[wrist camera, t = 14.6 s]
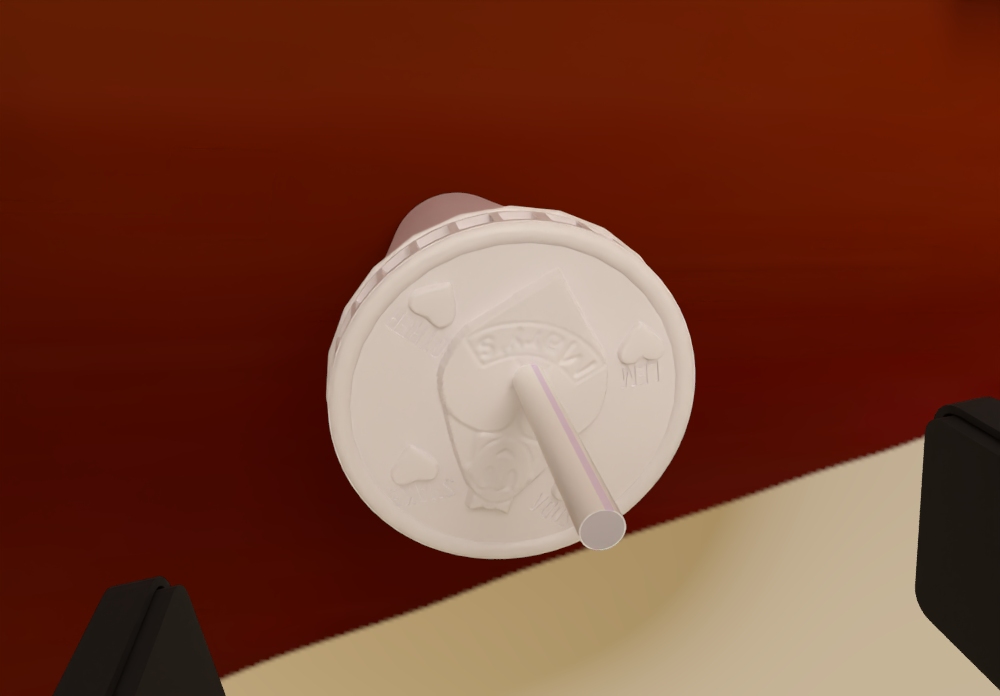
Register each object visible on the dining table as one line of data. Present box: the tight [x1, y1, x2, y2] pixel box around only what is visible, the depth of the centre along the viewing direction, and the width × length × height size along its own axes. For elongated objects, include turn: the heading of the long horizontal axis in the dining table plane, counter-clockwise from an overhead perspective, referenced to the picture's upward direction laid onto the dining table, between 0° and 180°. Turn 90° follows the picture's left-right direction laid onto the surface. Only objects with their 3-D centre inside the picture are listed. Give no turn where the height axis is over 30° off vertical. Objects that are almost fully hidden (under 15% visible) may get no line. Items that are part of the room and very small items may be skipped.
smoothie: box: [326, 193, 695, 559], centre depth 15 cm, size 6×6×14 cm
